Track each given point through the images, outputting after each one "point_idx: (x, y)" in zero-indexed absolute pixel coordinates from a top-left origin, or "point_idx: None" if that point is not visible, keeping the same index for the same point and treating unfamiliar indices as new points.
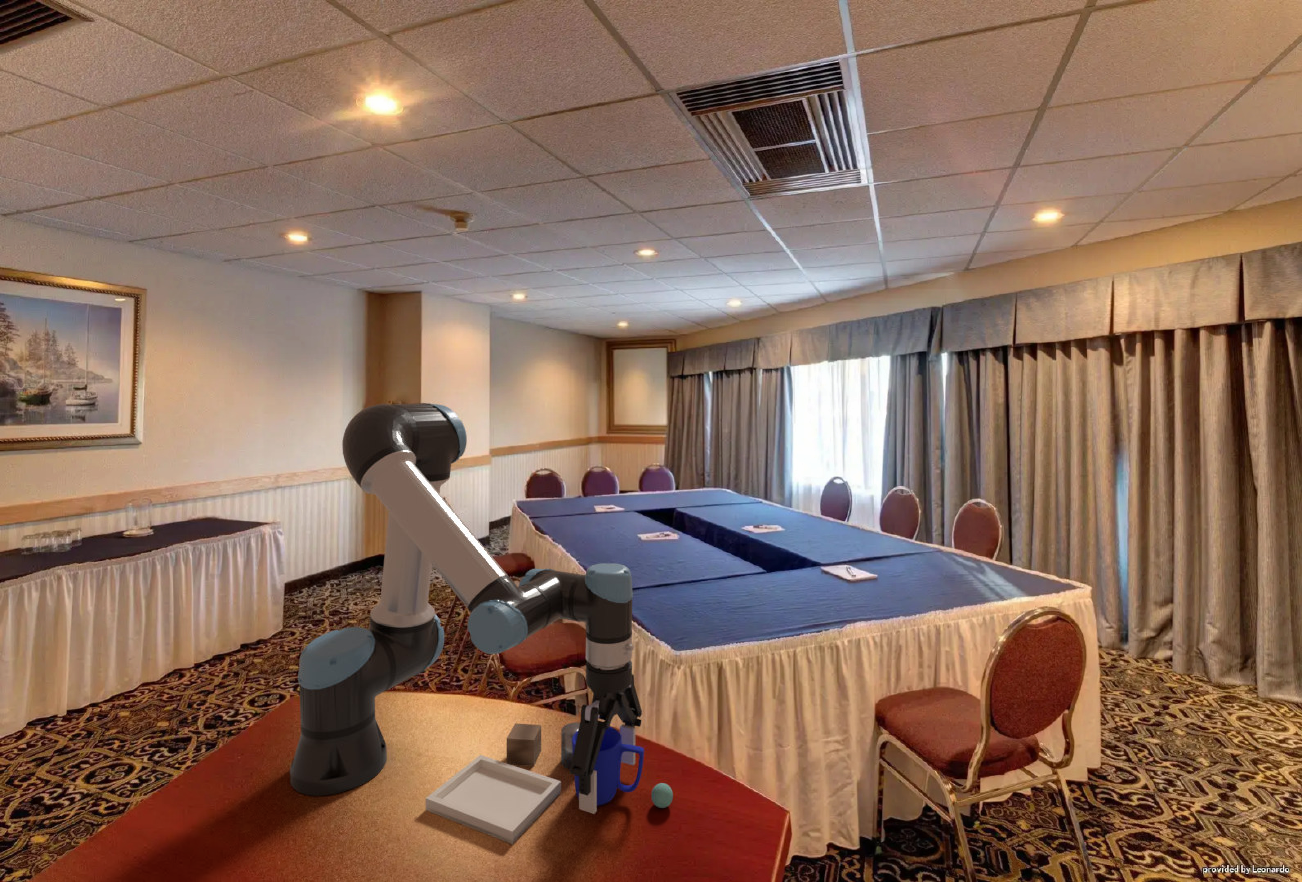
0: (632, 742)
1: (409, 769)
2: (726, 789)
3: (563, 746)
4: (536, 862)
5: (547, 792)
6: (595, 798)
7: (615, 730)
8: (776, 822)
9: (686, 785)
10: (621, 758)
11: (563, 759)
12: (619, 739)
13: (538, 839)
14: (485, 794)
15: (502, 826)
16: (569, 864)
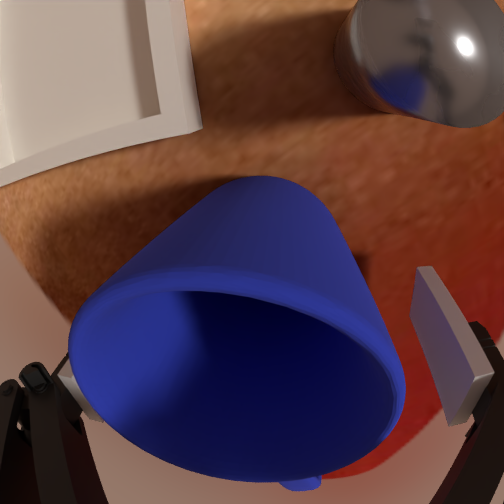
0: (434, 375)
1: None
2: (411, 429)
3: (350, 14)
4: (29, 252)
5: (113, 141)
6: None
7: (362, 450)
8: (353, 474)
9: (406, 390)
10: (420, 281)
11: (340, 30)
12: (289, 476)
13: (52, 214)
14: None
15: None
16: (67, 305)
